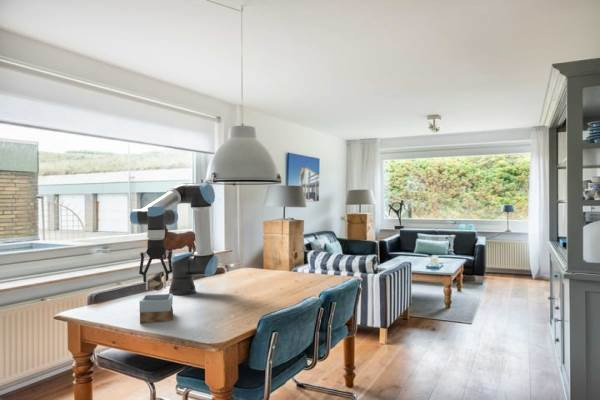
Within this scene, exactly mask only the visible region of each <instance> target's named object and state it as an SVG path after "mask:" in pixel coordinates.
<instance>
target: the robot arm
mask: <svg viewBox="0 0 600 400" xmlns="http://www.w3.org/2000/svg"><path fill="white" fill-rule="evenodd" d="M215 198H216V194H215V190H214V188H213V185H212V184H210V183H206V182H195V183H194V182H187V183H180V184H177V185H175V186H172V187H171V188H170V189H167V190H166V192H165V194H163V195H162V196H160V197H159V198H157V199H156V200H155V199H154V200H153V202H151V203H149V204H148V205H146V206H144V207H143V208H139V209H138V208H137V209H132V210H131V211H130V214H129V219H130V220H129V221H130V222H131V224H133V225H138V226H141V225H142V226H146V225H147V241H146V242H147V244H146V245H147V246H146V247H147V249H146V251H140V254H139V255H140V262H139V271H138V274H139V275H142V276H143V279H142V280H143V281H142V282H143V283H145V290H146V291H148V290H149V286H148V279H149V274H147V273H148V271H149V268H150V266H151V264H152V261H153V260H160V262H161V265H162V267H163V270H164V276H163V289H167V283H166V282H167V281H169V274H171V277H172V278H171V283H170V286H169V289H168V291H169V292H168V294H173V296H185V295H191V294H195V293H196V292H197V290H196V285H195V282H194V279H193V278H194V276H205V277H206V276H207V277H208V276H209V277H210V276H213V275H214V274H216V271H217V269H218V266H219V258H218V256H217V255H215V252H214V250H212V244H211V243H212V241H211V240H212V239H211V224H210V209H211V207H212V204H214V203H215ZM180 204H190V208H191V209H192V210H193V219H194V223H193V224H194V239H195V251H194V252H191V251H190V252H183V253H177V254H174V255H173V256H172V251H171V250H166V249H165V241H166V240H165V238H166V237H165V235H166V234H165V233H166V232H165V231H166V230H165V228H166V227H165V226H172V225H174V224H176V223H177V222H178V220H179V214H178V212H177V211H176V210H174V209H171V208H172V207H174V206H178V205H180ZM146 255H147V256H148V257H149V259H148V260H147V263H146V266H145V269H144V271H143V267H144V263H145V262H144V261H145V257H146ZM164 255H166V256H167V261H168V268H167V265H166V263H165V260H164Z"/></svg>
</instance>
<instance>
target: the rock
mask: <svg viewBox="0 0 600 400" xmlns="http://www.w3.org/2000/svg"><path fill="white" fill-rule="evenodd" d="M164 274H165V271H162V270H161V271H160V272H158V273H156V274H155V275H153V276H152V277H150V278H149V277H148V289H149V290H150V291H152V290H153V291H158V292H159V291H160V290H162V288H164V283H163V282H162V281H163V279H162V278H164Z"/></svg>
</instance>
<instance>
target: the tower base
mask: <svg viewBox="0 0 600 400" xmlns="http://www.w3.org/2000/svg"><path fill="white" fill-rule="evenodd" d="M173 321H174V310H173V306H172V307H171V310H170V311H162V312H143V313H140V312H139V325H140V324H142V325H143V324H151V323H153V322H154V323H163V322H173Z"/></svg>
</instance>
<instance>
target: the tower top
mask: <svg viewBox="0 0 600 400" xmlns="http://www.w3.org/2000/svg"><path fill="white" fill-rule="evenodd" d="M173 296H174V295H173V294H169V293H160V294H159V293H158V294H155V293H154V294H144V295H142V296H141V299H140V300H139V314H140V313H143V312H162V311H170V310H171V307H172V308H173V298H174V297H173Z"/></svg>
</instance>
